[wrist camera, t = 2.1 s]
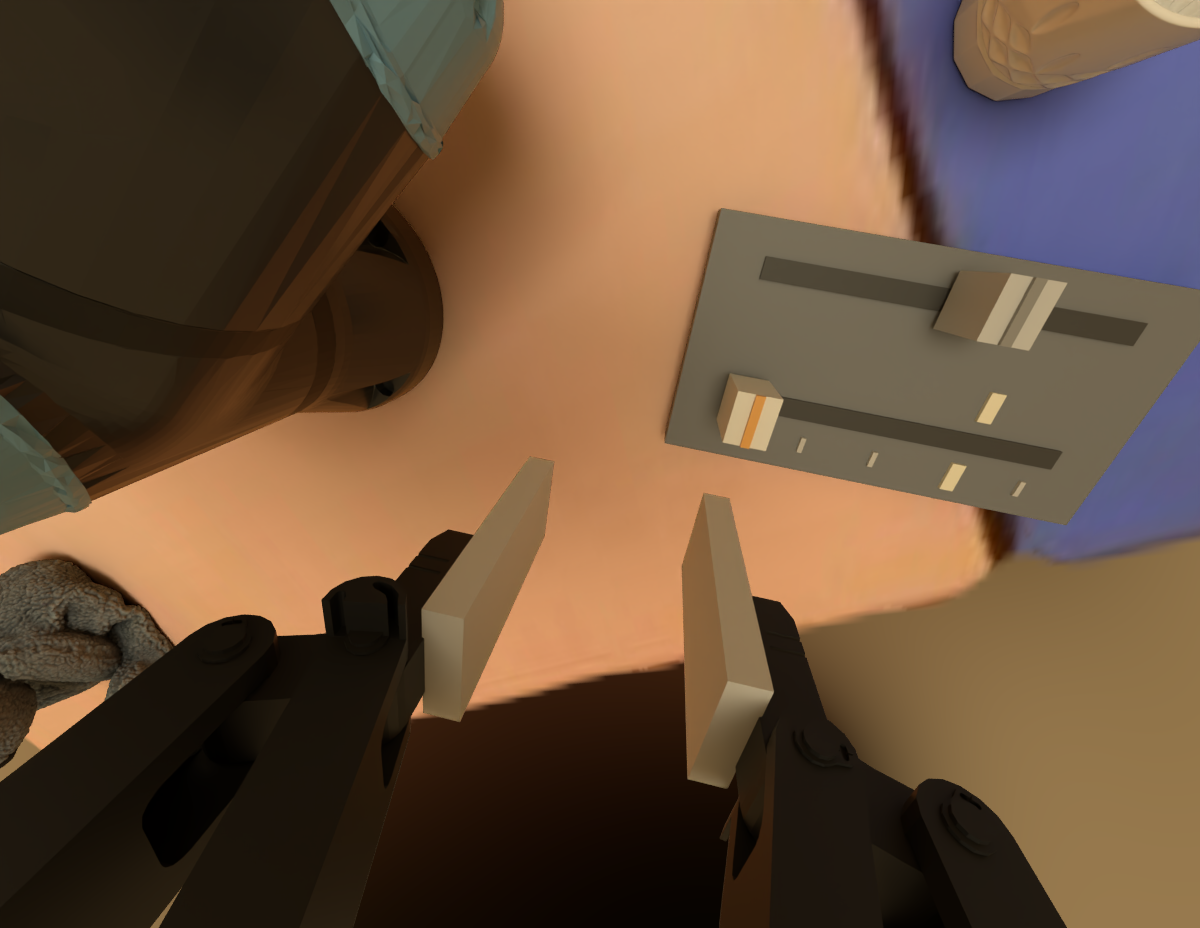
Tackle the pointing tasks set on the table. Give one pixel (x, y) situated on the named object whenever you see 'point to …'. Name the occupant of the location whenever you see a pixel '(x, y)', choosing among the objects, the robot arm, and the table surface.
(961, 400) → the console
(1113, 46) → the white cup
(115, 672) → the koala plush
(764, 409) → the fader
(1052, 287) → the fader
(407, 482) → the table surface
